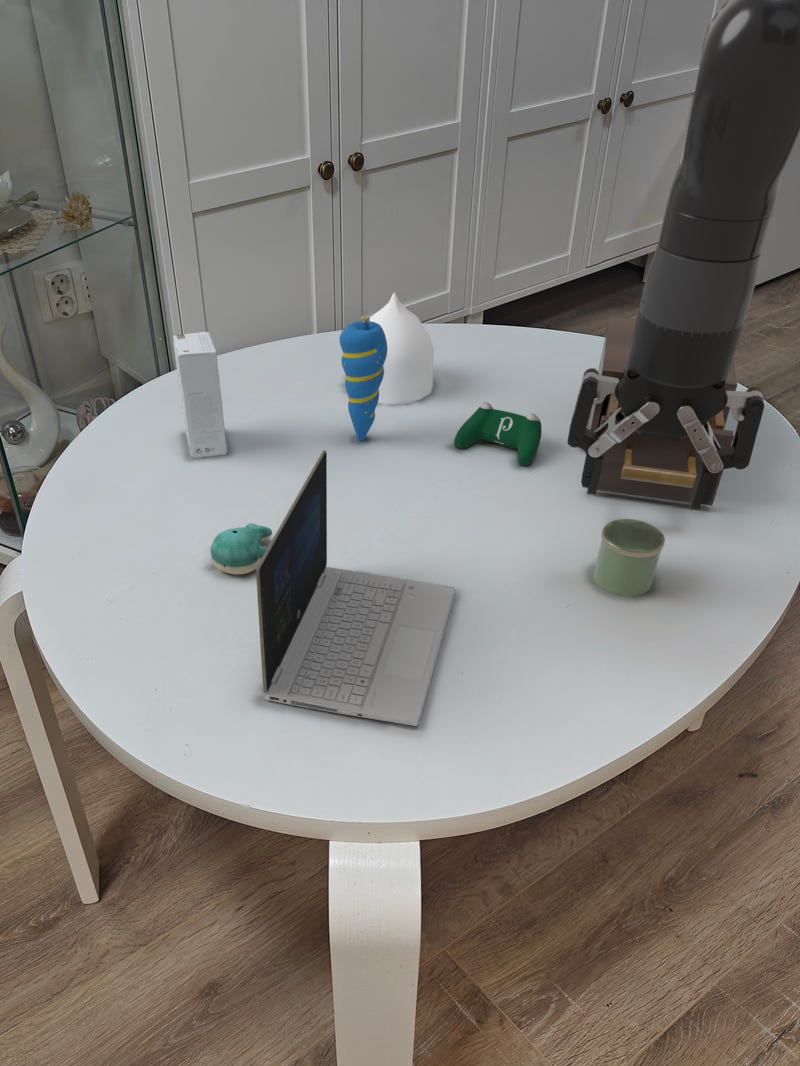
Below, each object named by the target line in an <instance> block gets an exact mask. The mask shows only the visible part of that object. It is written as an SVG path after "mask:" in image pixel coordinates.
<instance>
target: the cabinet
mask: <svg viewBox="0 0 800 1066" xmlns="http://www.w3.org/2000/svg"><path fill="white" fill-rule="evenodd" d="M636 321H637V319H630V318H620V317H608V320H607V324H606V325H607V326H606V330H605V335H604V339H603V344H602V345H603V346H602V351H601V355H600V361H599V365H598V369H597V371H598V373H599V375H602V376H607V377H613V378H619V377H620V376H621V375H622V373H623V372H624V370H625V368H626V365H627V361H628V356H629V352H630V348H631V343H632V339H633V335H634V330H635V326H636ZM734 359H735V356H734V357H733V360H732V364H731V367H730V370H729V373H728V377H727V380H726V390H727V391H737V388H738V380H737V373H736V365H735V360H734ZM607 398H608V395H607V396H606V397H605V398H604V400H603V402H601V403H599V404H593V406H592V409H591V413H590V417H589V425H588V429H590V430H592V431H595V430H597V429H598V428H599V427H600V423H601V418H602V416H604V412H605V407H606V403H607ZM730 411H731V408H729V407H726V406H725V408H724V409H723V415H724V425H725V426H724V428H725V427H726V423H727V420H728V417H729V413H730Z"/></svg>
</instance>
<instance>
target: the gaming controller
mask: <svg viewBox="0 0 800 1066" xmlns="http://www.w3.org/2000/svg"><path fill="white" fill-rule="evenodd" d="M541 438H542V422H541V419H540V418H539V416H537V414H535V413H534V412H529V413H528V414H527V415H526V416H525V415H522V414H518V413H514V412H510V411H507V410H501V409H494V407H493V406H492V405H491V404H490V403H489V402H488V401H483V402H482V403H481V405H480V406H479V407H478V408H477V410H475V411H474V412H473V414H471V416H470V417H468V418H467V420H466V421H465V422H464V423H463V424H461V427H460V428H459V429H458V430H457V432H456V435H455V437H454V440H453V445H454V447H456V448H457V449H461V450H464V449H467V448H469V447H470V446H472V445H473V444H475V443H476V442H477V441H478V440H481V439H482V440H484V441H485V442H487V443H496V444H500V445H504V446H507V447H509V448H511V449H517V462H518V464H519V465H521V466H523V467H526V466H529V465H530V463H531V462H532V461H533V458H534V456H535V455H536V453H537V450H538V448H539V446H540V442H541V440H542V439H541Z"/></svg>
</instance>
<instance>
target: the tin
mask: <svg viewBox="0 0 800 1066" xmlns="http://www.w3.org/2000/svg"><path fill="white" fill-rule="evenodd" d="M600 538H601V540H600V544H599V549H598V553H597V557H596V562H595V565H594V570H593V575H592V577H593V581H594V583H595V584H596V586H598V587H599V588H600V589H602V590H603V591H605V592H607V593H609V594H611V595H615V596H618V597H628V598H629V597H631V598H632V597H637V596H643V595H644V594H646V593H648V592H649V591H650V590H651V587H652V584H653V581H654V577H655V574H656V571H657V566H658V564H659V560H660V556H661V553H662V551H663V550H664V547H665V542H666V539H665V536H664V534H663V532H662V531H661V530H660V529H659V528H658V527H656V526H655V525H653V524H651V523H649V522H646V521H642V520H638V519H633V518H621V519H614V520H612V521H609V522H608V523H606V524H605V525H604V526H603V528H602V531H601V535H600Z"/></svg>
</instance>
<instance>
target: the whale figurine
mask: <svg viewBox="0 0 800 1066" xmlns="http://www.w3.org/2000/svg"><path fill="white" fill-rule="evenodd" d="M272 535H273V530H272V529H271V528H269V527H267V526H264V525H259V524H255V523H248V524H246V525H245V526H243V527H235V528H228V529H225V530H222V531H221V532H219V533H218V534H217V535H216V536H215V537H214V539H213V540H212V543H211V546H210V557H211V561H212V564H213V565H214V567H215V568H216V569H218V570H219V571H221V572H223V573H227V574H231V575H245V574H249V573H252V572H253V571H256V568H257V566H258V564H259V562H260V560H261V559H262V557H263V555H264V553H265V552H266V550H267V548H268V546H262V542H264V541H266V540H267V539H269V538H270V537H272Z"/></svg>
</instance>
